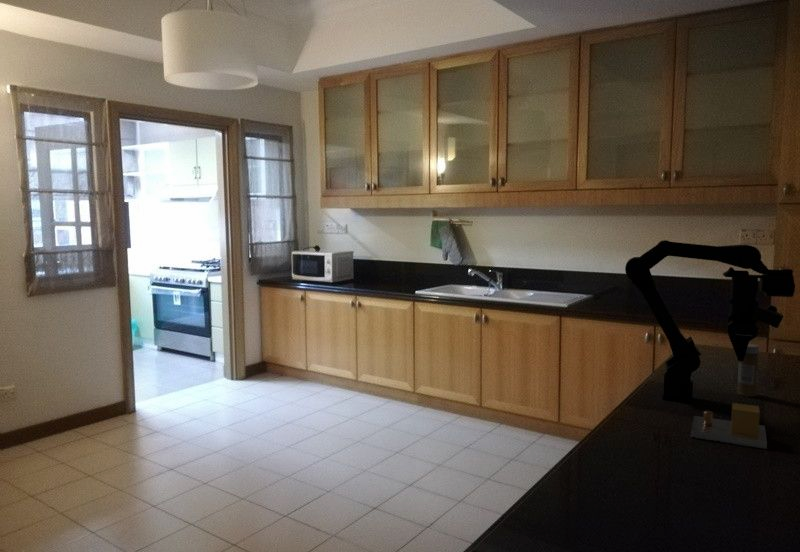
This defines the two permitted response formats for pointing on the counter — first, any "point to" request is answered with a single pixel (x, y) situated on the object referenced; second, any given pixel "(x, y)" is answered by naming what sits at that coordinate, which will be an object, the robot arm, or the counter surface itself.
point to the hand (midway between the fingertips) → (740, 357)
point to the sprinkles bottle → (748, 372)
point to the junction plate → (725, 432)
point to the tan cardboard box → (745, 419)
